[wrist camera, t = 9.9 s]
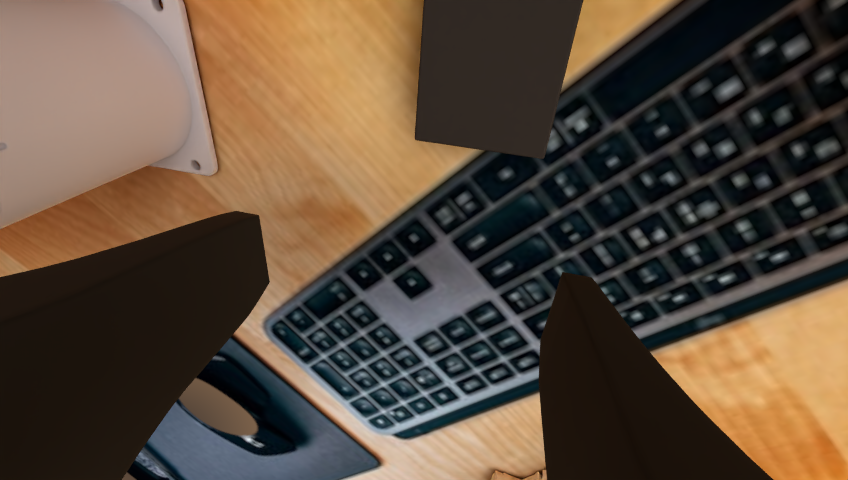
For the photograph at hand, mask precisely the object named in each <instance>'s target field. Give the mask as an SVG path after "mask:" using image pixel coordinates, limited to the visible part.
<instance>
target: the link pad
mask: <svg viewBox="0 0 848 480" xmlns="http://www.w3.org/2000/svg"><path fill="white" fill-rule="evenodd" d="M582 3H583V0H424V6H423V21H422V36H421V51H420V67H419V82H418V97H417V112H416V127H415V140H419V141H425V142H432V143H439V144H446V145H453V146H459V147H466V148H473V149H480V150H486V151H493V152H500V153H507V154H513V155H520V156H527V157H534V158H540V159H543V158H544V157H545V153H546V149H547V145H548V141H549V137H550V133H551V129H552V125H553V121H554V116H555V112H556V108H557V104H558V100H559V96H560V92H561V88H562V84H563V80H564V76H565V72H566V68H567V64H568V60H569V56H570V52H571V48H572V43H573V39H574V35H575V31H576V27H577V23H578V19H579V15H580V11H581V7H582Z"/></svg>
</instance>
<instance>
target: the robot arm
mask: <svg viewBox="0 0 848 480" xmlns="http://www.w3.org/2000/svg"><path fill="white" fill-rule="evenodd" d="M161 1H162V3H163V9H162V8H161V7H160V4H159V0H0V229H2V228H4V227H6V226H8V225H11V224H13V223H15V222H18V221H20V220H22V219H25V218H27V217H29V216H32V215H34V214H36V213H39V212H41V211H43V210H46V209H48V208H50V207H52V206H55V205H57V204H59V203H62V202H64V201H66V200H69V199H71V198H73V197H76V196H78V195H80V194H83V193H85V192H87V191H90V190H92V189H94V188H96V187H99V186H101V185H103V184H106V183H108V182H110V181H113V180H115V179H117V178H120V177H122V176H124V175H127V174H129V173H131V172H134V171H136V170H138V169H140V168H143V167H145V166H147V165H148V166H154V167H160V168H165V169H171V170H177V171H183V172H188V173H194V174H200V175H205V176H211V175H213V174H215V173H216V172H217V171H218V164H217V159H216V154H215V149H214V144H213V139H212V134H211V130H210V125H209V120H208V115H207V110H206V105H205V101H204V96H203V91H202V86H201V81H200V76H199V72H198V67H197V62H196V57H195V52H194V47H193V43H192V38H191V33H190V28H189V23H188V18H187V14H186V9H185V5H184V2H183V0H161ZM196 161H197V162H198V163H199V164H200V166H199V165H198V164H197V162H196ZM269 282H270V281H269V275H268V269H267V263H266V256H265V250H264V244H263V238H262V231H261V225H260V219H259V215H255V214H250V213H244V212H239V211H234V212H229V213H225V214H221V215H217V216H213V217H210V218H207V219H203V220H200V221H197V222H194V223H191V224H187V225H184V226H181V227H178V228H175V229H172V230H169V231H166V232H163V233H160V234H157V235H153V236H150V237H147V238H144V239H141V240H138V241H135V242H131V243H128V244H125V245H121V246H118V247H115V248H111V249H108V250H105V251H101V252H98V253H94V254H91V255H88V256H84V257H81V258H77V259H74V260H70V261H66V262H62V263H59V264H55V265H51V266H47V267H43V268H38V269H34V270H30V271H26V272H21V273H17V274H13V275H8V276H4V277H0V480H122V478H123V477H124V475H125V474H126V472H127V471H128V469H129V468H130V466H131V465H132V463H133V462H134V460H135V459H136V457H137V456H138V454H139V453H140V451H141V450H142V448H143V447H144V445H145V444H146V442H147V441H148V439H149V438H150V437H151V435H152V434H153V432H154V431H155V430H156V428H157V427H158V425H159V424H160V422H161V421H162V420H163V418H164V417H165V415H166V414H167V413H168V411H169V410H170V408H171V407H172V406H173V404H174V403H175V402H176V401H177V399H178V398H179V397H180V396H181V394H182V393H183V392H184V391H185V389H186V388H187V387H188V386H189V385H190V384H191V382H192V381H193V380H194V379H195V378H196V377H197V375H198V374H199V373H200V372H201V371H202V370H203V368H204V367H205V366H206V365H207V364H208V363H209V362H210V360H211V359H212V358H213V357H214V356H215V355H216V353H217V352H218V351H219V350H220V349H221V348H222V346H223V345H224V344H225V343H226V342H227V341H228V339H229V338H230V337H231V336H232V335H233V334H234V332H235V331H236V330H237V329H238V328H239V326H240V325H241V324H242V323H243V322H244V320H245V319H246V318H247V317H248V316H249V314H250V313H251V311H252V310H253V308H254V307H255V305H256V304H257V302H258V301H259V299H260V297H261V296H262V294H263V292H264V291H265V289H266V287H267V286H268V284H269ZM539 391H540V403H541V416H542V427H543V439H544V451H545V462H546V474H547V480H773V479H772V478H771V477H770V476H769V475H768V474H767V473H766V472H764V471H763V470H762V469H761V468H760V467H759V466H758V465H757V464H756V463H755V462H754V461H753V460H751V459H750V458H749V457H748V456H747V455H746V454H745V453H744V452H743V451H742V450H741V449H740V448H739V447H738V446H737V445H736V444H735V443H734V442H733V441H732V440H731V439H730V438H729V437H728V436H727V435H726V434H725V433H724V432H723V431H722V430H721V429H720V428H719V427H718V426H717V425H716V424H715V423H714V422H713V421H712V420H711V419H710V418H709V417H708V416H707V415H706V414H705V413H704V412H703V411H702V410H701V409H700V408H699V407H698V406H697V405H696V404H695V403H694V402H693V401H692V400H691V399H690V397H689V396H688V395H687V394H686V393H685V392H684V391H683V390H682V389H681V387H680V386H679V385H678V384H677V383H676V382H675V381H674V380H673V379H672V377H671V376H670V375H669V374H668V373H667V372H666V371H665V370H664V368H663V367H662V366H661V365H660V364H659V363H658V361H657V360H656V359H655V358H654V357H653V356H652V354H651V353H650V352H649V351H648V349H647V348H646V347H645V346H644V345H643V343H642V342H641V341H640V340H639V338H638V337H637V336H636V335H635V333H634V332H633V331H632V330H631V328H630V327H629V326H628V324H627V323H626V322H625V321H624V319H623V318H622V317H621V315H620V314H619V313H618V311H617V310H616V309H615V307H614V306H613V305H612V303H611V302H610V301H609V299H608V298H607V297H606V295H605V294H604V293H603V291H602V290H601V289H600V287H599V286H598V285H597V284H596V282H595V281H594V280H593V279H592V278H591V277H586V276H580V275H575V274H570V273H564V272H562V275H561V278H560V282H559V285H558V288H557V291H556V294H555V297H554V300H553V303H552V306H551V309H550V312H549V316H548V319H547V322H546V325H545V328H544V331H543V334H542V337H541V341H540V362H539Z"/></svg>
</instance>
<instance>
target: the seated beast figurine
mask: <svg viewBox="0 0 848 480" xmlns="http://www.w3.org/2000/svg"><path fill="white" fill-rule="evenodd" d="M542 474H543V476H542V475H541V474H540V473H539V472H536V474H535V475H532V476H529V477H527V478H524V479H519V478H516V477H513V476H511V475H508V474H506V473H501V472H499V471H497V470H495V473H493V474H492V478H491V480H547V474H546V470H543V473H542Z"/></svg>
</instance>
